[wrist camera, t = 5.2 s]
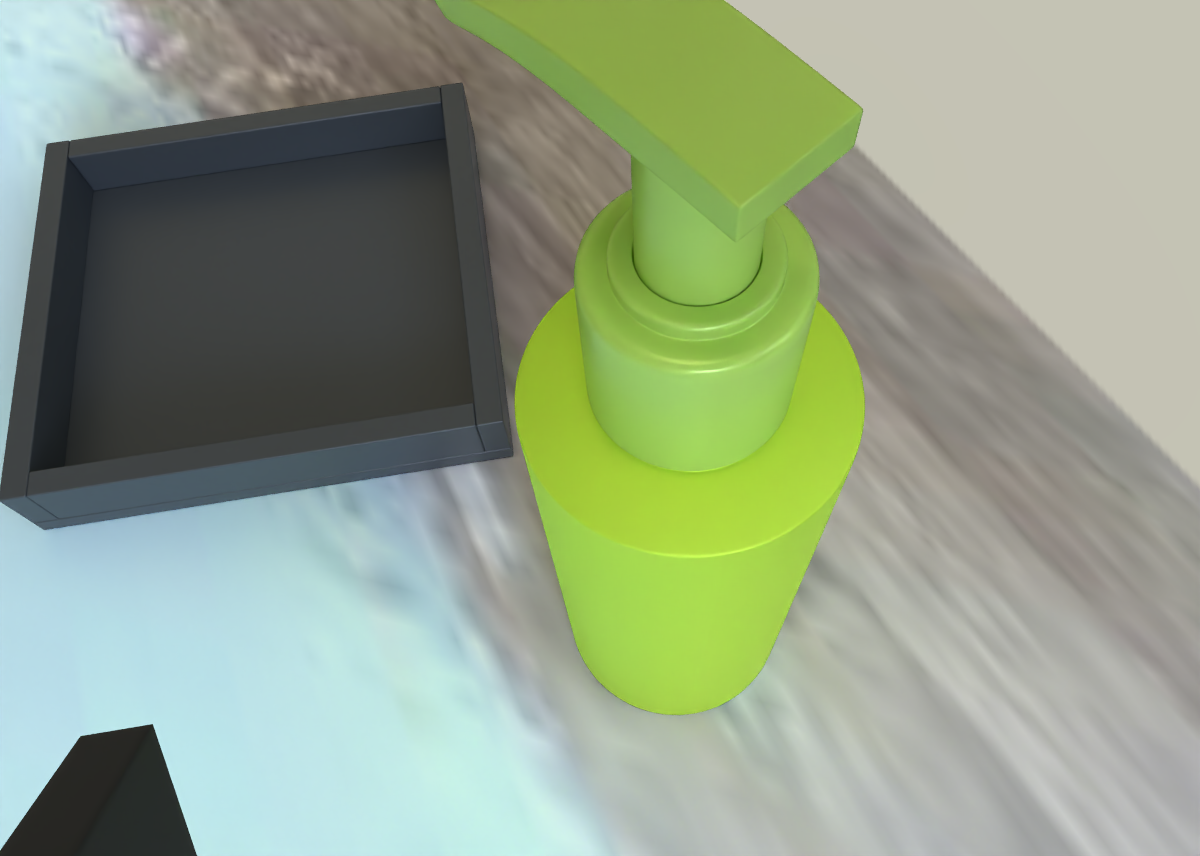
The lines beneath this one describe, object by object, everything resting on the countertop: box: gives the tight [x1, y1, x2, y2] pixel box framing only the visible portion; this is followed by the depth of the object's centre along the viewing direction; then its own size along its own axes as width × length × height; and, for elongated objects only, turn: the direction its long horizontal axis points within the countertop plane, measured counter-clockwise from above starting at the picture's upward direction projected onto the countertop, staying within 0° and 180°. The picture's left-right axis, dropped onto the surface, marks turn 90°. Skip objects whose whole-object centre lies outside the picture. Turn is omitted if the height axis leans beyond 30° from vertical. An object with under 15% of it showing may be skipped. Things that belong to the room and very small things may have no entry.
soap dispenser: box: [435, 0, 865, 715], centre depth 20 cm, size 6×7×20 cm
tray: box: [0, 83, 513, 530], centre depth 32 cm, size 15×14×2 cm
